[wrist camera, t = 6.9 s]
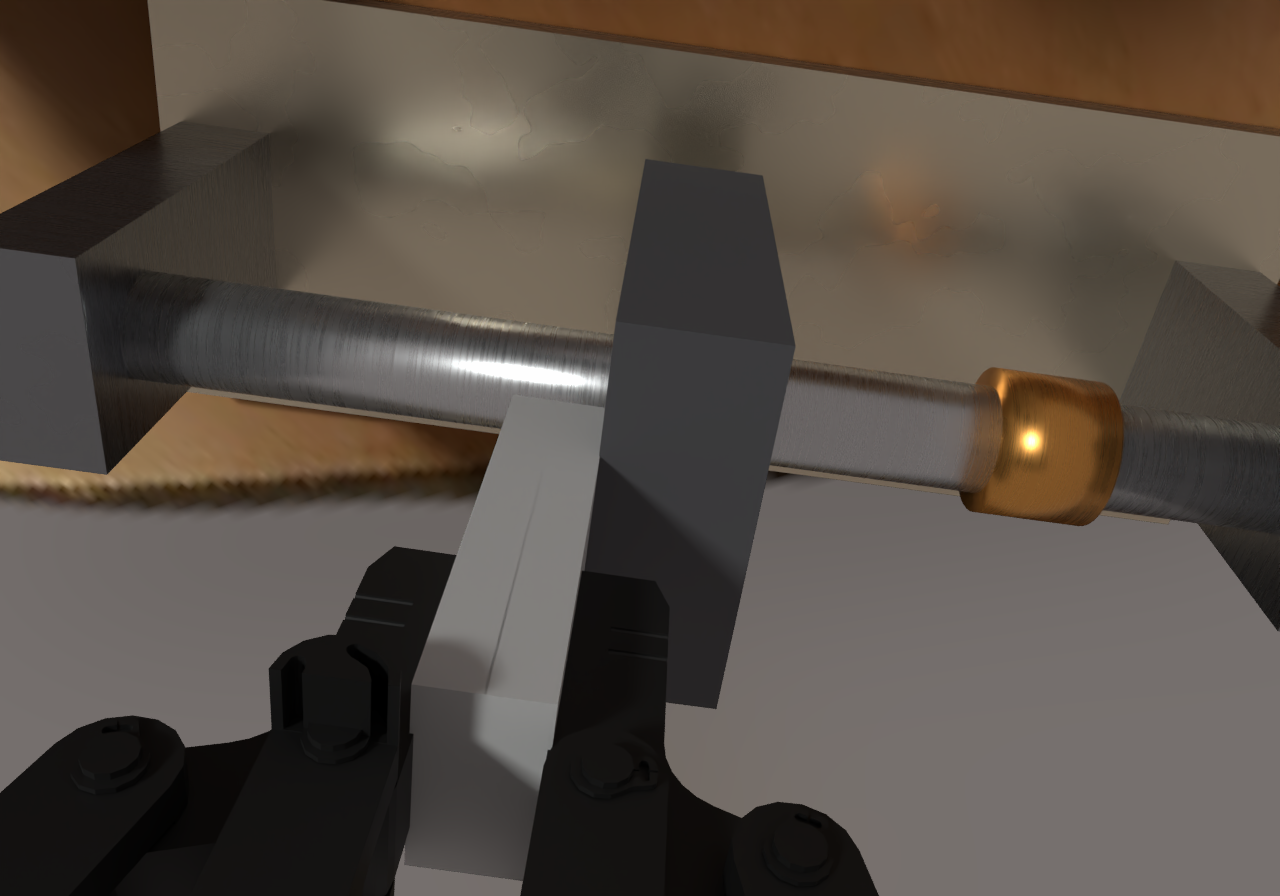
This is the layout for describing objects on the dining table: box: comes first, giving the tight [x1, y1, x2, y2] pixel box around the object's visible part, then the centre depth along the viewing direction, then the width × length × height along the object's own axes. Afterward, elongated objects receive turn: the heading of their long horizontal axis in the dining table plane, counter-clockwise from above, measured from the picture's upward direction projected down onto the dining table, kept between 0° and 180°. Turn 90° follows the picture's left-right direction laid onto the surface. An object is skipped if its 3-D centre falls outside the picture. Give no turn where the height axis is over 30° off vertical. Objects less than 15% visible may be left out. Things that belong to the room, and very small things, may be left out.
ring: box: [585, 159, 796, 709], centre depth 19 cm, size 2×6×8 cm, turn 173°
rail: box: [0, 0, 1280, 631], centre depth 22 cm, size 26×10×10 cm, turn 83°
